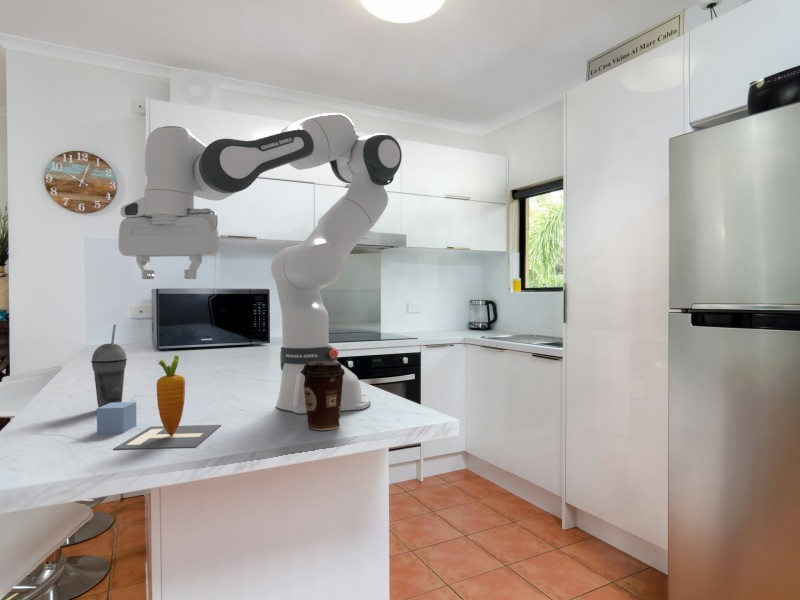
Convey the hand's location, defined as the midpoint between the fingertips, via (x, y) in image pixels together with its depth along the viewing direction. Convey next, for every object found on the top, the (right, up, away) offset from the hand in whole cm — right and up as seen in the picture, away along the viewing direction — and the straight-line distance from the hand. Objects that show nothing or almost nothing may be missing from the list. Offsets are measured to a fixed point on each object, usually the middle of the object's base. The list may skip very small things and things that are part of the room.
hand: (168, 279), depth 94 cm
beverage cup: (-23, -30, +18) cm, 42 cm away
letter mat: (+3, -30, -5) cm, 30 cm away
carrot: (+3, -30, -5) cm, 31 cm away
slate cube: (-10, -30, +1) cm, 32 cm away
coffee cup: (+31, -30, +1) cm, 43 cm away
